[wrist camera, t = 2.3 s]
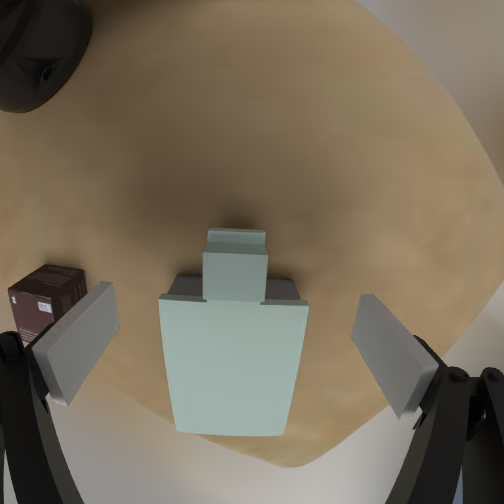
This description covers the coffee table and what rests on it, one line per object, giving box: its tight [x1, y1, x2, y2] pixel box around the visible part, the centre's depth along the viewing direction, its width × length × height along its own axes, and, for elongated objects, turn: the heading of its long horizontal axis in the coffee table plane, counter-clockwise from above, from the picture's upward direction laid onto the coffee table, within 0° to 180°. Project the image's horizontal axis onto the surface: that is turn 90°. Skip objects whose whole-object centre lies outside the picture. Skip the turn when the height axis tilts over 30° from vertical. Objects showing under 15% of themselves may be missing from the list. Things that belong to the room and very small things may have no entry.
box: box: [8, 265, 87, 343], centre depth 24 cm, size 6×6×7 cm
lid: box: [158, 227, 309, 436], centre depth 22 cm, size 22×12×4 cm, turn 177°
